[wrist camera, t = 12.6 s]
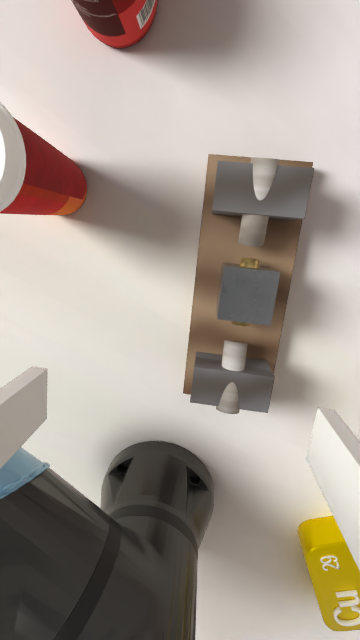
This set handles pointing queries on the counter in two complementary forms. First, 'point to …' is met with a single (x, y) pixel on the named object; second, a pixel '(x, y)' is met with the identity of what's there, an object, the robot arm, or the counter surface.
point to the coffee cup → (36, 173)
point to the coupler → (247, 293)
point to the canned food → (117, 19)
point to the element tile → (332, 573)
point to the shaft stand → (229, 246)
